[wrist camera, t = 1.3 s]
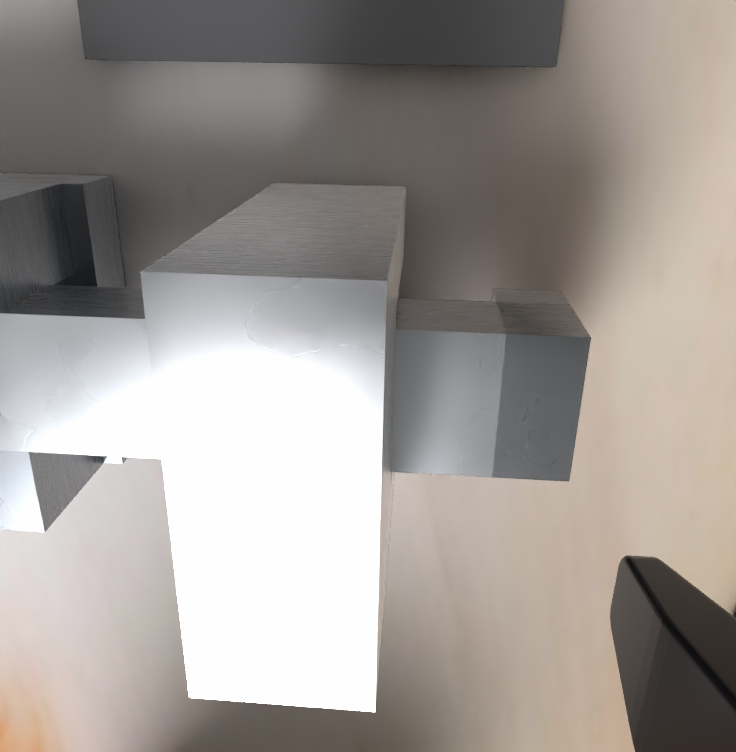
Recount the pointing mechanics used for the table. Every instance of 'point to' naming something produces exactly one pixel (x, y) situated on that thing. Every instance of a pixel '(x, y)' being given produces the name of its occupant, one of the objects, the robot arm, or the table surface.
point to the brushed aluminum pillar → (280, 440)
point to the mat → (325, 31)
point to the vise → (134, 377)
